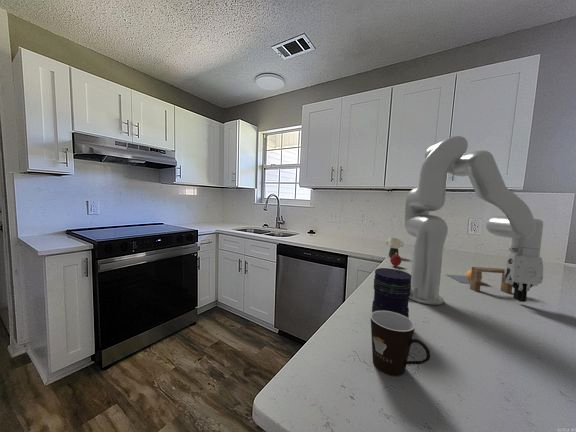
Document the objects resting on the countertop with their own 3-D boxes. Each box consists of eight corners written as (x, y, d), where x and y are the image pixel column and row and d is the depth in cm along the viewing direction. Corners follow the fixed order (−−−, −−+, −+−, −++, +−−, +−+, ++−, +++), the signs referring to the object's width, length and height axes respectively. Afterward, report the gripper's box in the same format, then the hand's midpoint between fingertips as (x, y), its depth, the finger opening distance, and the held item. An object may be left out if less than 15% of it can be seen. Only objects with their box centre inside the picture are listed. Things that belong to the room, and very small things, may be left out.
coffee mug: (361, 352, 54) (364, 310, 53) (396, 352, 55) (399, 310, 54) (386, 393, 42) (390, 340, 42) (431, 392, 43) (435, 340, 42)
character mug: (403, 257, 157) (405, 238, 156) (400, 259, 151) (402, 239, 150) (386, 255, 164) (388, 236, 163) (383, 256, 158) (384, 237, 157)
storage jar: (391, 335, 61) (396, 280, 61) (363, 318, 70) (367, 269, 69) (415, 327, 66) (419, 276, 65) (386, 312, 75) (390, 266, 74)
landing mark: (461, 282, 109) (461, 282, 109) (445, 274, 121) (445, 274, 121) (487, 284, 108) (487, 284, 108) (468, 276, 120) (468, 275, 120)
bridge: (511, 293, 98) (514, 270, 97) (474, 291, 99) (477, 268, 98) (505, 290, 101) (507, 268, 100) (469, 288, 102) (471, 266, 101)
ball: (467, 266, 112) (462, 274, 116) (472, 276, 107) (466, 284, 111) (481, 267, 111) (475, 275, 115) (487, 277, 106) (481, 285, 110)
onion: (402, 268, 129) (403, 254, 129) (391, 267, 130) (392, 253, 130) (399, 265, 135) (400, 252, 135) (388, 264, 136) (389, 251, 136)
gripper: (513, 252, 82) (507, 303, 83) (557, 255, 81) (551, 306, 83) (495, 248, 90) (490, 294, 91) (535, 250, 89) (530, 297, 90)
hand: (519, 300), depth 87 cm, fingers closed
